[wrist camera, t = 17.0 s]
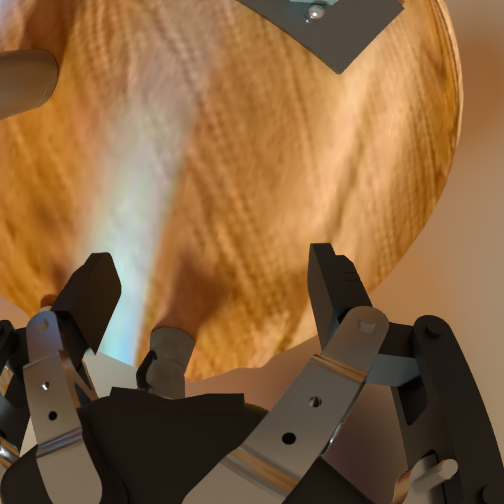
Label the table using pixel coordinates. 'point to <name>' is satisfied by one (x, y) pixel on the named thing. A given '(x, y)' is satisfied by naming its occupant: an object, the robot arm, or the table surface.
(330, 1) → the block
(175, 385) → the coffeepot
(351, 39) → the mounting plate
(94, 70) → the table surface
